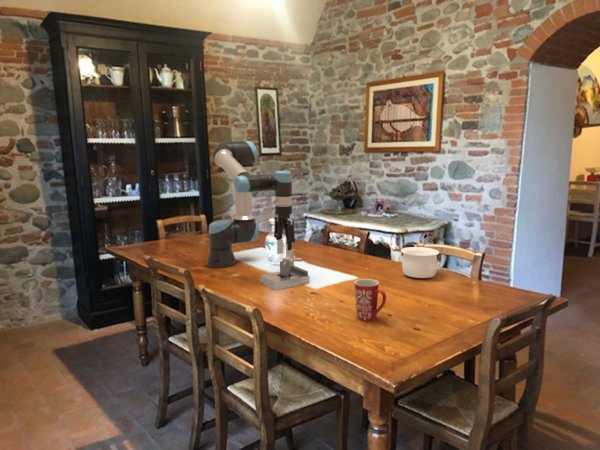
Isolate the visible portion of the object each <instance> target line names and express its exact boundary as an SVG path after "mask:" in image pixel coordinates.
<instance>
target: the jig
mask: <svg viewBox="0 0 600 450" xmlns="http://www.w3.org/2000/svg"><path fill="white" fill-rule="evenodd" d="M259 275H260V283H261V284H263V285H265V286H267V287H269V288H271V289H273V290H275V291H277V290H282V289H287V288H293V287H297V286H302V285H307V284H308V285H309V284H310V283H311V282H310V281H311V280H310V275H309V272H308V270H305V269H303V268H300V267H298V266H295V265H294V266H290V275H291V277H285V278H281V277H280V271H275V272H270V273H264V274H263V273H262V274H259Z"/></svg>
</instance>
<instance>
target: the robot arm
mask: <svg viewBox="0 0 600 450" xmlns="http://www.w3.org/2000/svg"><path fill="white" fill-rule="evenodd" d="M258 156H259V155H258V149H257V146H256V145H255V144H254V142H253V141H248V140H236V141H235V140H234V141H233V140H231V141H228V140H227V141H226V140H225V141H221V142H219V143H218V144H216V145H215V146H214V147H213V150H212V155H211V157H212V161H213V162H214V164H215V165H216V166H217V167H218V168H222V169H223V170H224V172H225V173H226V174H227V175H228V176H229V177H230V178H231V179H232V180H233V187H234V192H235V193H234V195H235V197H234V199H235V215H234V216H233V217H232V221H231V220H230V219H219V220H214V221H212V222H211V223H210V224H209V225H208V236H209V238H208V239H209V241H208V242H209V253H208V255H207V258H206V266H208V267H210V268H214V269H215V268H219V269H220V268H228V267H232V266H235V265H236V257H235V254H234V251H233V245H232V244H240V243H249V242H254V241H256V240H257V238H258V237H259V234H260V226H259V222H258V221H257V220H256V218H255V216H254V215H253V208H252V205H253V203H252V193H256V192H269V191H270V192H271V191H273V192H274V196H275V197H274V201H275V202H274V203H275V209H274V211H275V215H277V216H274V217H273V219H274V225H273V226H274V229H273V231H274V232H273V237H274V238H275V240H276V252H277V253H276V254H278V255H281V254H284V237H283V235H284V234H285V239H286V242H285V258H290V257H292V250H293V243H296V237H295V236H296V235H295V220H294V219H291V215H292V214H293V206H292V205H293V195H292V194H293V192H292V191H293V185H292V184H293V177H292V172H291V170H276V171H275V172H274V173H266V174H253V175H252V169H254V164H256V163H257V162H258Z"/></svg>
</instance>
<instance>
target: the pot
mask: <svg viewBox="0 0 600 450" xmlns="http://www.w3.org/2000/svg"><path fill="white" fill-rule="evenodd" d="M400 252H401V253H402V255H399V261H398V262H399V263H401V267H402V274H403V275H405V276H407V277H410V278H416V279H429V278H431V279H432V278H433V277H435V276H436V273H437V272H438V270H441V262H440V261H438V258H437V257H438V256H439V254H440V251H439V250H437V249H435V248H430V247H422V246H413V247H412V246H409V247H403V248H401V250H400Z"/></svg>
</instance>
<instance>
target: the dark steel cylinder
mask: <svg viewBox="0 0 600 450" xmlns="http://www.w3.org/2000/svg"><path fill="white" fill-rule="evenodd" d="M279 272H280V277H281V278H285V277H291V275H290V261H282V260H281V261H279Z"/></svg>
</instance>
